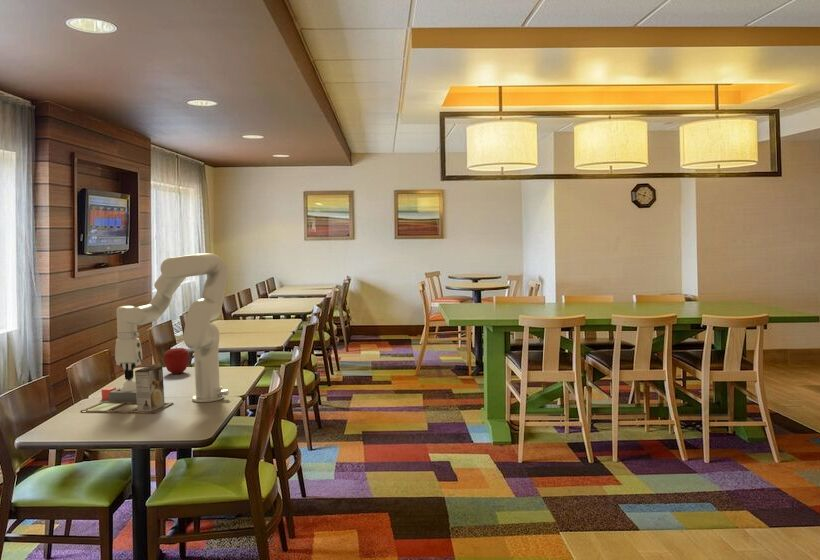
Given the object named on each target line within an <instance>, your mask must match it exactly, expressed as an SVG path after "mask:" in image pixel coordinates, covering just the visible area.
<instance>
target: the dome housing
mask: <svg viewBox="0 0 820 560" xmlns="http://www.w3.org/2000/svg"><path fill="white" fill-rule="evenodd" d="M108 402H137V393H136V391H134V392H129V391H120V387H119V388H116V390H113V391H111V392H109V399H108Z"/></svg>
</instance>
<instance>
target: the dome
mask: <svg viewBox="0 0 820 560" xmlns="http://www.w3.org/2000/svg"><path fill="white" fill-rule="evenodd" d="M119 388H120V391H129V392H134V391H136V379H134V378H133V379H130V380H125V381H124V382H123V383H122V386H119Z"/></svg>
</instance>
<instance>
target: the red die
mask: <svg viewBox="0 0 820 560" xmlns="http://www.w3.org/2000/svg"><path fill="white" fill-rule="evenodd" d="M116 389H117V387H111V386H110V387H105V388H102V389H101V400H109V392H111V391H113V390H116Z"/></svg>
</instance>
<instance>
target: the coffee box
mask: <svg viewBox="0 0 820 560" xmlns="http://www.w3.org/2000/svg"><path fill="white" fill-rule="evenodd" d="M134 373H135V381H136V393H137V404H136V405H137V406H136V408H137V409H138V410H137V411H155V410H157V409H159V408H161V407H163V406H165V403H166V402H165V401H166V400H165V386H164V372H163V365H161V366H160V365H159V366H158V365H153V366H151V365H150V366H149V365H148V366H145V367H143V368H140V369H136V370H135V371H134Z"/></svg>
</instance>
